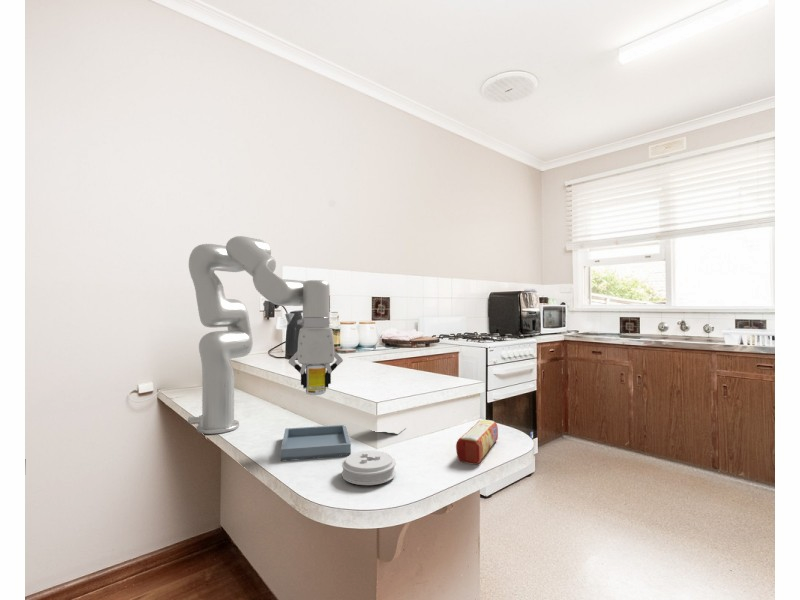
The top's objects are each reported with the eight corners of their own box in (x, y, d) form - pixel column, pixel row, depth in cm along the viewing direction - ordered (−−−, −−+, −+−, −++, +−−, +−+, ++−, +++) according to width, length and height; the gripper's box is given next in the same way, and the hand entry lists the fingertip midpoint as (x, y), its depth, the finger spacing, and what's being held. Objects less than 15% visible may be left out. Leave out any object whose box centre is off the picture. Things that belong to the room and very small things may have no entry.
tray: (280, 461, 105) (280, 449, 105) (285, 438, 123) (285, 428, 123) (350, 455, 109) (350, 444, 109) (345, 434, 127) (345, 424, 127)
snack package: (478, 438, 124) (477, 415, 124) (499, 441, 121) (499, 418, 121) (455, 462, 105) (455, 436, 105) (480, 467, 102) (480, 440, 102)
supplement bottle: (329, 393, 116) (329, 357, 116) (311, 396, 112) (311, 359, 112) (319, 390, 120) (320, 355, 120) (302, 393, 116) (302, 357, 117)
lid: (406, 480, 94) (406, 458, 94) (357, 494, 87) (357, 471, 87) (378, 462, 105) (378, 443, 105) (333, 473, 98) (333, 453, 98)
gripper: (283, 324, 111) (283, 391, 111) (347, 324, 114) (347, 388, 114) (285, 323, 118) (285, 385, 118) (345, 322, 122) (345, 383, 122)
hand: (315, 386), depth 116 cm, fingers closed on supplement bottle, 5 cm apart
